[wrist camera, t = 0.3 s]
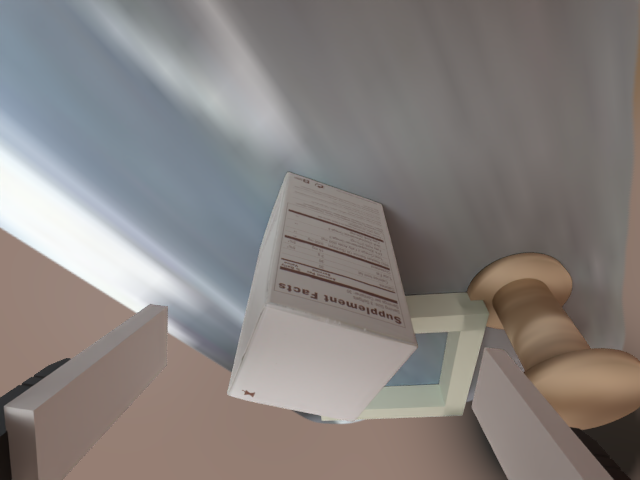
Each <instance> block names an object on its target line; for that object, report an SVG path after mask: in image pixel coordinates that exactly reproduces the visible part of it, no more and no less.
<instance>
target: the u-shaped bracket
mask: <svg viewBox="0 0 640 480" xmlns="http://www.w3.org/2000/svg"><path fill="white" fill-rule="evenodd" d="M405 297H406V302H407V306H408V309H409V313H410V317H411V321H412V325H413V329H414V333H434V332H448V336H447V341H446V347H445V353H444V359H443V364H442V370H441V376H440V381H439V384H435V385H412V386H388V387H383V388H382V389H381V391H380V392H379V393H378V394H377V395H376V396H375V398H374V399H373V400H372V401H371V402H370V403H369V405H368V406H367V407H366V408H365V409H364V411H363V412H362V413H361V414H360V415H359V417H358V418H357V419H384V418H411V417H437V416H462V414H463V411H464V407H465V403H466V399H467V396H468V392H469V388H470V384H471V381H472V377H473V373H474V369H475V366H476V362H477V358H478V354H479V351H480V347H481V343H482V339H483V336H484V332H485V328H486V324H487V321H488V317H489V312H488V310H487V308H486V306H485V303H484V301H483V300H473V301H471V300H470V298H469V296H468V294H467V292H461V293H444V294H427V295H410V296H405ZM321 418H322V421H330V420H340V419H335V418H330V417H325V416H321ZM357 419H356V420H357Z"/></svg>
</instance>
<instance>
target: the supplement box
mask: <svg viewBox="0 0 640 480" xmlns="http://www.w3.org/2000/svg"><path fill="white" fill-rule="evenodd" d="M417 348H418V344H417V341H416V337H415V333H414V329H413V325H412V321H411V317H410V313H409V309H408V306H407V302H406V297H405V293H404V289H403V285H402V281H401V277H400V273H399V270H398V266H397V261H396V258H395V254H394V250H393V246H392V242H391V238H390V234H389V230H388V226H387V222H386V219H385V215H384V211H383V207H382V204H380V203H377V202H374V201H372V200H369V199H366V198H363V197H360V196H357V195H355V194H352V193H349V192H346V191H343V190H341V189H338V188H335V187H332V186H329V185H326V184H323V183H320V182H317V181H315V180H311V179H309V178H306V177H303V176H300V175H297V174H294V173H291V172H287V174H286V176H285V178H284V181H283V183H282V186H281V189H280V191H279V194H278V197H277V200H276V202H275V205H274V208H273V210H272V213H271V216H270V219H269V222H268V225H267V228H266V231H265V234H264V237H263V240H262V243H261V246H260V251H259V256H258V260H257V264H256V269H255V273H254V278H253V282H252V286H251V291H250V295H249V300H248V304H247V308H246V313H245V317H244V322H243V326H242V330H241V334H240V339H239V343H238V348H237V352H236V356H235V361H234V365H233V370H232V374H231V379H230V383H229V388H228V391H227V394H228V395H230V396H233V397H236V398H239V399H243V400H247V401H252V402H256V403H261V404H266V405H271V406H276V407H281V408H285V409H291V410H296V411H301V412H306V413H311V414H315V415H320V416H325V417H330V418H335V419H340V420H346V421H355V420H356V419H357V418H358V417H359V415H360V414H361V413H362V412H363V411H364V409H365V408H366V407H367V406H368V405H369V403H370V402H371V401H372V400H373V399H374V398H375V396H376V395H377V394H378V393H379V392H380V391H381V389H382V388H383V387H384V386H385V385H386V384H387V382H388V381H389V380H390V379H391V378H392V377H393V375H394V374H395V373H396V372H397V371H398V370H399V368H400V367H401V366H402V365H403V364H404V363H405V362H406V360H407V359H408V358H409V357H410V356H411V355H412V353H413V352H414V351H415V350H416V349H417Z"/></svg>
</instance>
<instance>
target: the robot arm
mask: <svg viewBox="0 0 640 480" xmlns="http://www.w3.org/2000/svg"><path fill="white" fill-rule="evenodd" d="M167 324H168V306H161V305H153V304H150V305H148V306H147V307H145V308H144V309H142V310H141V311H140V312H138V313H137V314H135V315H134V316H132V317H131V318H130V319H128V320H127V321H125V322H124V323H122V324H121V325H119V326H118V327H117V328H115V329H114V330H112V331H111V332H109V333H108V334H107V335H105V336H104V337H102V338H101V339H99V340H98V341H97V342H95V343H94V344H92V345H91V346H89V347H88V348H87V349H85V350H84V351H82V352H81V353H79V354H78V355H77V356H75V357H74V358H72V359H70V358H66V359H63V360H61V361H58V362H56V363H53V364H51V365H49V366H47V367H46V368H44V369H43V370H41V371H40V372H38V373H37V374H35V375H34V377H31V378H29V379H28V380H26V381H25V382H23V383H22V385H19V386H17V387H16V388H14V389H13V390H11V391H9V392H8V393H6V394H5V395H4V396H2V397H0V480H63V479H64V478H65V477H66V475H67V474H68V473H69V472H70V471H71V470H72V469H73V468H74V467H75V466H76V465H77V463H78V462H79V461H80V460H81V459H82V458H83V457H84V456H85V455H86V454H87V452H88V451H89V450H90V449H91V448H92V447H93V446H94V445H95V444H96V442H97V441H98V440H99V439H100V438H101V437H102V436H103V435H104V434H105V433H106V432H107V431H108V429H109V428H110V427H111V426H112V425H113V424H114V423H115V422H116V421H117V420H118V418H119V417H120V416H121V415H122V414H123V413H124V412H125V411H126V410H127V409H128V407H129V406H130V405H131V404H132V403H133V402H134V401H135V400H136V399H137V398H138V396H139V395H140V394H141V393H142V392H143V391H144V390H145V389H146V388H147V387H148V386H149V384H150V383H151V382H152V381H153V380H154V379H155V378H156V377H157V376H158V375H159V373H160V372H161V371H162V370H163V369H164V368H165V367H166V366H167ZM472 409H473V411H474V413H475V415H476V417H477V419H478V421H479V423H480V425H481V426H482V429H483V431H484V433H485V435H486V437H487V439H488V440H489V443H490V445H491V446H492V448H493V450H494V452H495V454H496V456H497V458H498V460H499V462H500V464H501V466H502V468H503V470H504V472H505V474H506V476H507V478H508V480H631V479H630V478H629V477H628V476H627V475H626V474H625V473H624V472H623V471H621V469H620V467H619V466H618V465H617V464H616V463H615V461H614V460H612V459H610V456H609V455H608V454H607V453H606V451H605V450H604V449H603V448H602V447H601V446H600V445H599V444H598V442H597V441H595V440H594V439H592V438H591V437H590V436H589V435H587V434H586V433H584V432H583V431H582V430H580V429H579V428H573V427H569V426H568V425H567V424H566V423H565V421H564V420H563V419H562V418H561V417H560V415H559V414H558V413H557V412H556V411H555V410H554V408H553V407H552V406H551V405H550V404H549V402H548V401H547V400H546V399H545V398H544V396H543V395H542V394H541V393H540V392H539V391H538V389H537V388H536V387H535V386H534V385H533V383H532V382H531V381H530V380H529V379H528V378H527V376H526V375H525V374H524V373H523V372H522V370H521V369H520V368H519V367H518V366H517V364H516V363H515V362H514V361H513V360H512V359H511V357H510V356H509V355H508V354H507V353H506V351H505V350H502V349H495V348H487V347H484V352H483V357H482V361H481V366H480V371H479V375H478V380H477V385H476V389H475V394H474V399H473V403H472Z"/></svg>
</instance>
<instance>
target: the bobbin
mask: <svg viewBox="0 0 640 480" xmlns="http://www.w3.org/2000/svg"><path fill="white" fill-rule="evenodd" d="M571 291H572V279H571V277H570V275H569V273H568V272H567V271H566V269H565V268H564V267H563V266H562V265H561V263H560V262H559V261H557V260H556V259H555V258H553V257H551V256H548V255H545V254H541V253H520V254H515V255H510V256H507V257H504V258H502V259H499V260H497V261H495V262H493V263H491V264H490V265H488V266H486V267H485V268H484V269H482V270H481V271H480V272H479V273H478V274H477V275H476V276H475V277H474V278H473V280H472V281H471V283H470V285H469V287H468V290H467V294H468V296H469V298H470V300H471V301H473V300H483V301H484V303H485V306H486V308H487V310H488V312H489V317H488V321H487V324H486V326H488V327H491V328H496V329H504V330H505V332H506V334H507V336H508V338H509V340H510V342H511V344H512V346H513V348H514V350H515V352H516V354H517V356H518V358H519V360H520V362H521V364H522V366H523V368H524V370H525V372H524V374H525V375H526V376H527V378H528V379H529V380H530V381H531V382H532V383H533V385H534V386H535V387H536V388H537V389H538V391H539V392H540V393H541V394H542V395H543V396H544V398H545V399H546V400H547V401H548V402H549V404H550V405H551V406H552V407H553V408H554V410H555V411H556V412H557V413H558V414H559V415H560V417H561V418H562V419H563V420H564V421H565V423H566V424H567V425H568V426H569V427H573V428H579V429H580V430H584V429H589V428H594V427H598V426H601V425H604V424H607V423H610V422H613V421H615V420H618V419H620V418H622V417H624V416H626V415H628V414H630V413H632V412H633V411H635V410H636V409H638V408H639V407H640V361H639V360H638V359H637V358H635V357H634V356H633V355H631V354H629V353H627V352H624V351H620V350H615V349H605V348H594V349H591V348H590V346H589V345H588V344H587V342H586V341H585V339H584V338H583V336H582V335H581V334H580V332H579V331H578V329H577V328H576V326H575V325H574V324H573V322H572V321H571V319H570V318H569V317H568V315H567V314H566V312H565V311H564V309H563V308H562V306H563V305H564V304H565V302H566V301H567V300H568V298H569V296H570V294H571Z"/></svg>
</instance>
